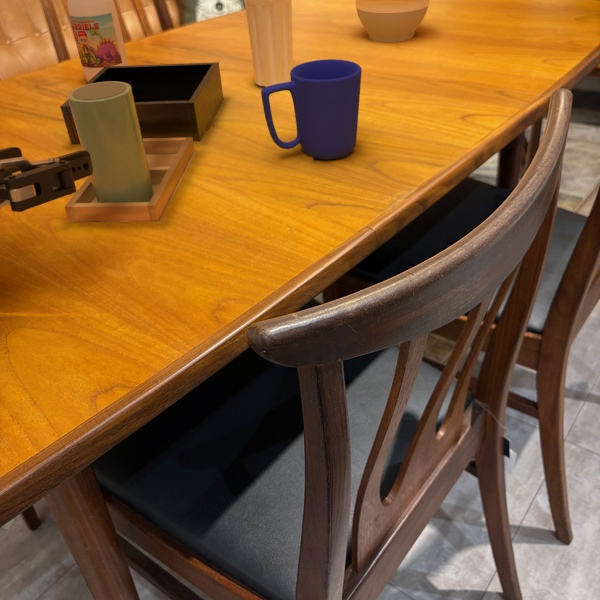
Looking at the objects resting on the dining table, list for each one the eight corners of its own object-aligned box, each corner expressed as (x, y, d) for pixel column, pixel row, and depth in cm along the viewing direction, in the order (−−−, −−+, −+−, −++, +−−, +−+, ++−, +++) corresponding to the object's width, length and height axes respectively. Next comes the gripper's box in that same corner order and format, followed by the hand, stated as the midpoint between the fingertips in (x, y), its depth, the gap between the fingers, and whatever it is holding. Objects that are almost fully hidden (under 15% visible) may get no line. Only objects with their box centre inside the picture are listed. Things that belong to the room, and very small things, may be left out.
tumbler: (90, 214, 65) (56, 102, 58) (108, 188, 70) (80, 81, 63) (146, 213, 65) (120, 99, 57) (161, 187, 70) (138, 79, 62)
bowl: (450, 35, 117) (454, -14, 112) (386, 52, 110) (388, 0, 105) (394, 22, 128) (396, -24, 123) (333, 36, 121) (332, -11, 116)
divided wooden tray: (68, 226, 64) (62, 206, 63) (121, 156, 79) (116, 139, 77) (161, 224, 63) (156, 205, 62) (197, 154, 78) (194, 137, 76)
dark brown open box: (72, 147, 82) (59, 106, 79) (113, 103, 96) (104, 66, 93) (200, 144, 80) (193, 102, 77) (223, 99, 94) (218, 62, 91)
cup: (259, 94, 95) (249, -7, 87) (243, 80, 102) (233, -15, 93) (307, 85, 98) (302, -14, 89) (289, 72, 104) (283, -22, 95)
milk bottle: (96, 71, 111) (65, -55, 99) (137, 71, 110) (110, -57, 98) (78, 85, 105) (42, -48, 93) (121, 85, 103) (90, -50, 92)
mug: (257, 153, 77) (248, 72, 71) (343, 134, 80) (341, 55, 75) (281, 178, 71) (274, 91, 65) (373, 156, 74) (374, 72, 68)
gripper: (-70, 164, 39) (105, 118, 52) (-199, 155, 45) (-12, 116, 58) (-35, 273, 42) (121, 204, 55) (-159, 251, 48) (9, 194, 61)
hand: (53, 159), depth 56 cm, fingers open, 8 cm apart
